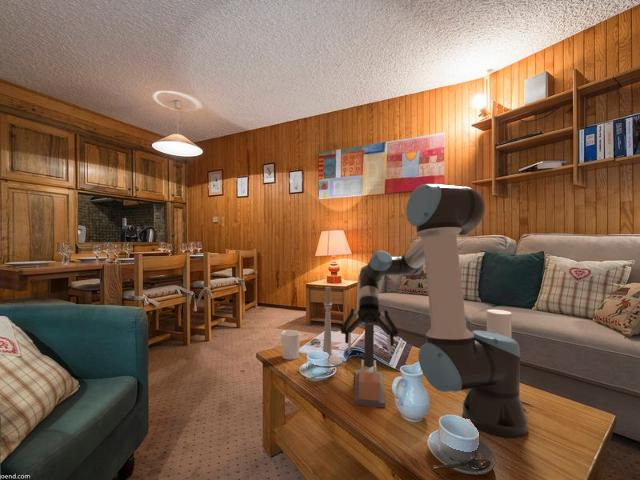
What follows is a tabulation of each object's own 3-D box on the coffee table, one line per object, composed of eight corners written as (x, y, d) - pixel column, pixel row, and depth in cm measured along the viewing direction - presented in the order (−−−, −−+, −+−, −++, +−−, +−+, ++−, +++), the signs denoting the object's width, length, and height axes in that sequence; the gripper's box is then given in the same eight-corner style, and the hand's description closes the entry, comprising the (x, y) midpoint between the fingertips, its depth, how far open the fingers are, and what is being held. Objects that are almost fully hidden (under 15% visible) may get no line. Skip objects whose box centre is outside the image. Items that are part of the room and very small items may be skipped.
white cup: (281, 353, 128) (281, 329, 128) (299, 352, 129) (299, 329, 129) (280, 360, 121) (281, 335, 121) (300, 360, 121) (300, 335, 121)
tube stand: (355, 373, 110) (356, 355, 110) (381, 375, 109) (381, 357, 109) (353, 404, 89) (354, 382, 89) (385, 407, 87) (385, 384, 87)
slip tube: (364, 368, 109) (364, 321, 109) (372, 369, 108) (373, 322, 108) (364, 384, 97) (364, 331, 97) (373, 385, 96) (374, 331, 96)
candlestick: (324, 370, 112) (325, 289, 112) (305, 359, 123) (306, 285, 123) (349, 362, 120) (350, 286, 120) (329, 352, 130) (330, 283, 130)
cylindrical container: (504, 381, 104) (504, 309, 105) (515, 392, 97) (516, 314, 98) (482, 380, 105) (483, 309, 105) (492, 390, 98) (493, 313, 98)
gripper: (401, 307, 118) (405, 360, 103) (337, 304, 122) (333, 355, 107) (402, 296, 113) (408, 350, 98) (336, 293, 116) (331, 345, 101)
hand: (369, 353), depth 102 cm, fingers open, 13 cm apart
